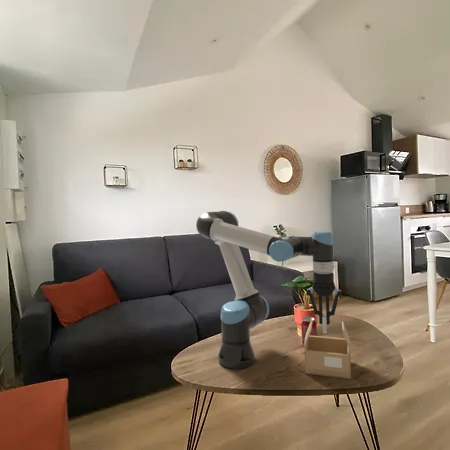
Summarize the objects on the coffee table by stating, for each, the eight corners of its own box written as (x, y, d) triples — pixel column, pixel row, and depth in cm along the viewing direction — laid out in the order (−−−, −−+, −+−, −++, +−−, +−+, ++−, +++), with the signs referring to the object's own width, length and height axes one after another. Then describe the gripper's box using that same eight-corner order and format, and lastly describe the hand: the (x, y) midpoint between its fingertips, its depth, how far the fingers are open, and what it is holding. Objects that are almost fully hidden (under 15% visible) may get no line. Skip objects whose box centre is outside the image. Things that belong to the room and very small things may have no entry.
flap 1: (312, 319, 130) (311, 319, 131) (311, 331, 118) (309, 331, 118) (307, 334, 132) (305, 334, 132) (304, 348, 119) (303, 347, 119)
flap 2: (343, 334, 115) (344, 334, 114) (341, 321, 127) (342, 321, 127) (350, 352, 114) (351, 352, 114) (348, 338, 127) (349, 338, 126)
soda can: (317, 348, 140) (317, 321, 139) (301, 347, 141) (301, 321, 141) (316, 342, 147) (315, 316, 146) (301, 341, 148) (300, 316, 147)
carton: (305, 374, 119) (304, 351, 118) (307, 356, 133) (307, 335, 133) (350, 380, 114) (350, 356, 113) (348, 360, 128) (348, 338, 128)
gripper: (305, 273, 120) (306, 334, 121) (341, 274, 116) (343, 337, 117) (306, 269, 127) (308, 327, 128) (341, 270, 123) (342, 330, 124)
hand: (324, 332), depth 123 cm, fingers closed
